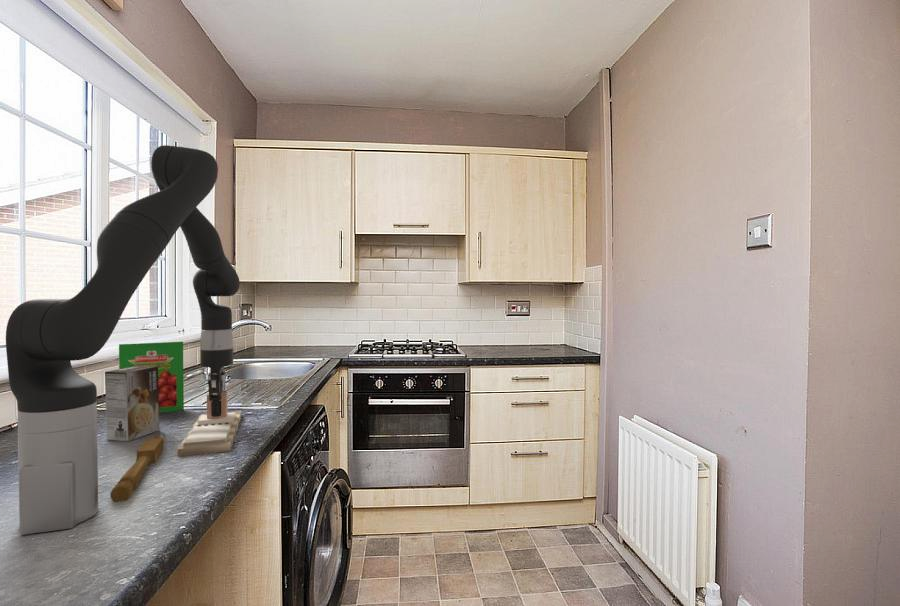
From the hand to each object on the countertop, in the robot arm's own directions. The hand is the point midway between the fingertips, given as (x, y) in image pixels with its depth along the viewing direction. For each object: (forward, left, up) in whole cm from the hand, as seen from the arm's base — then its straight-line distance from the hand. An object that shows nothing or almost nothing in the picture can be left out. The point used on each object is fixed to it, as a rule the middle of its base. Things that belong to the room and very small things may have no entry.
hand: (217, 414), depth 121 cm
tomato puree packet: (+20, +19, -3) cm, 28 cm away
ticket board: (-7, 0, -3) cm, 7 cm away
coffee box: (-2, +18, -3) cm, 18 cm away
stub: (0, 0, -2) cm, 2 cm away
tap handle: (-28, +10, -4) cm, 30 cm away
